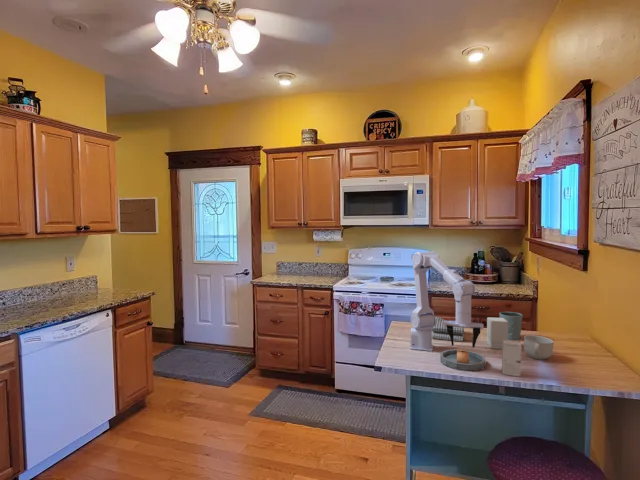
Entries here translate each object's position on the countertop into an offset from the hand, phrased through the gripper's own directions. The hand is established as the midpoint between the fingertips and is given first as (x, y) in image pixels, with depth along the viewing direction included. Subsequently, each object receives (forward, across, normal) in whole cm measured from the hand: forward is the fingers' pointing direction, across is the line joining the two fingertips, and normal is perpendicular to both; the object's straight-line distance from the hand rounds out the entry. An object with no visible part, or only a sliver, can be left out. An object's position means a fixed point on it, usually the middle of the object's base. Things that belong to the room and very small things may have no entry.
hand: (462, 345), depth 146 cm
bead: (+7, 0, 0) cm, 7 cm away
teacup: (+9, +30, +20) cm, 37 cm away
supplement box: (+9, +16, +30) cm, 35 cm away
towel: (+9, -5, +41) cm, 43 cm away
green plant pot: (+9, +24, +46) cm, 53 cm away
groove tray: (+8, 0, +4) cm, 10 cm away
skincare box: (+9, +17, -2) cm, 19 cm away
